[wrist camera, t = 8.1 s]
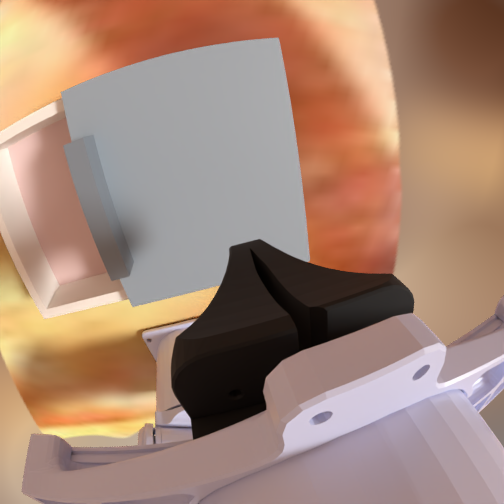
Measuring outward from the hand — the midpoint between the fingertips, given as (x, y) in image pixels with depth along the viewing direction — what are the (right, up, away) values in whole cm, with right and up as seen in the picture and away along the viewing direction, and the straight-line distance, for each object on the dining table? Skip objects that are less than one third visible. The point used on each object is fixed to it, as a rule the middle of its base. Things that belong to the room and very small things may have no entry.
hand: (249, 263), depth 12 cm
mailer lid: (-3, +5, +4) cm, 7 cm away
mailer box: (-12, +4, +7) cm, 15 cm away
